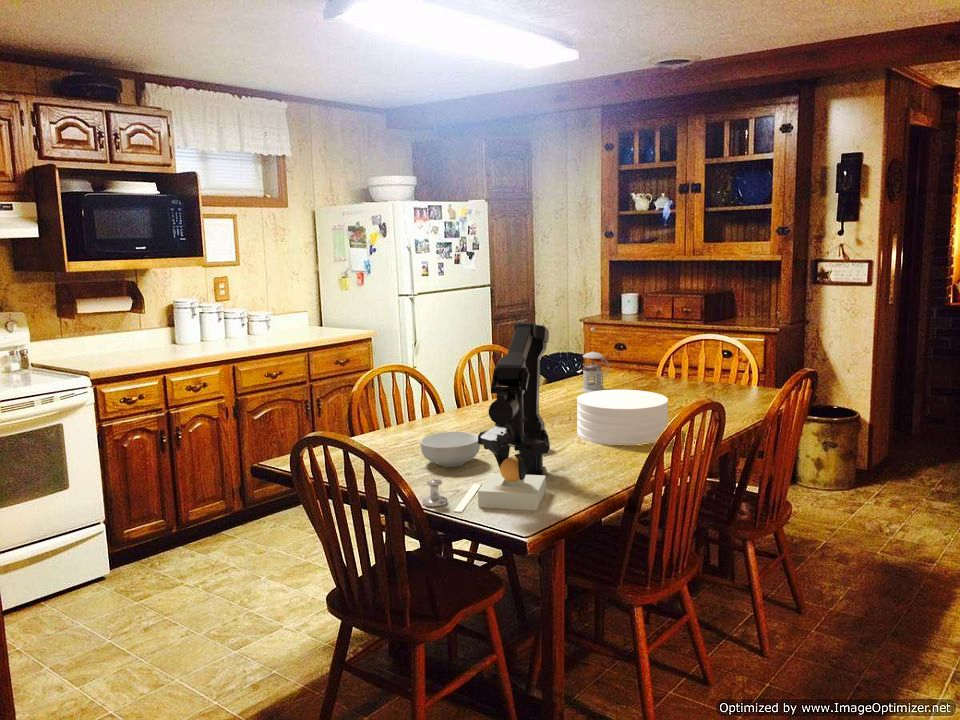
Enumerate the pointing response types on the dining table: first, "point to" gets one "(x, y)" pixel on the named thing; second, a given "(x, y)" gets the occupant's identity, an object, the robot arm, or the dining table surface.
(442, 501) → the tee
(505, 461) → the ball
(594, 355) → the french press
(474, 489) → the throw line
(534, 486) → the block
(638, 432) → the plate stack
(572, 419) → the dining table surface
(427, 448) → the cereal bowl
